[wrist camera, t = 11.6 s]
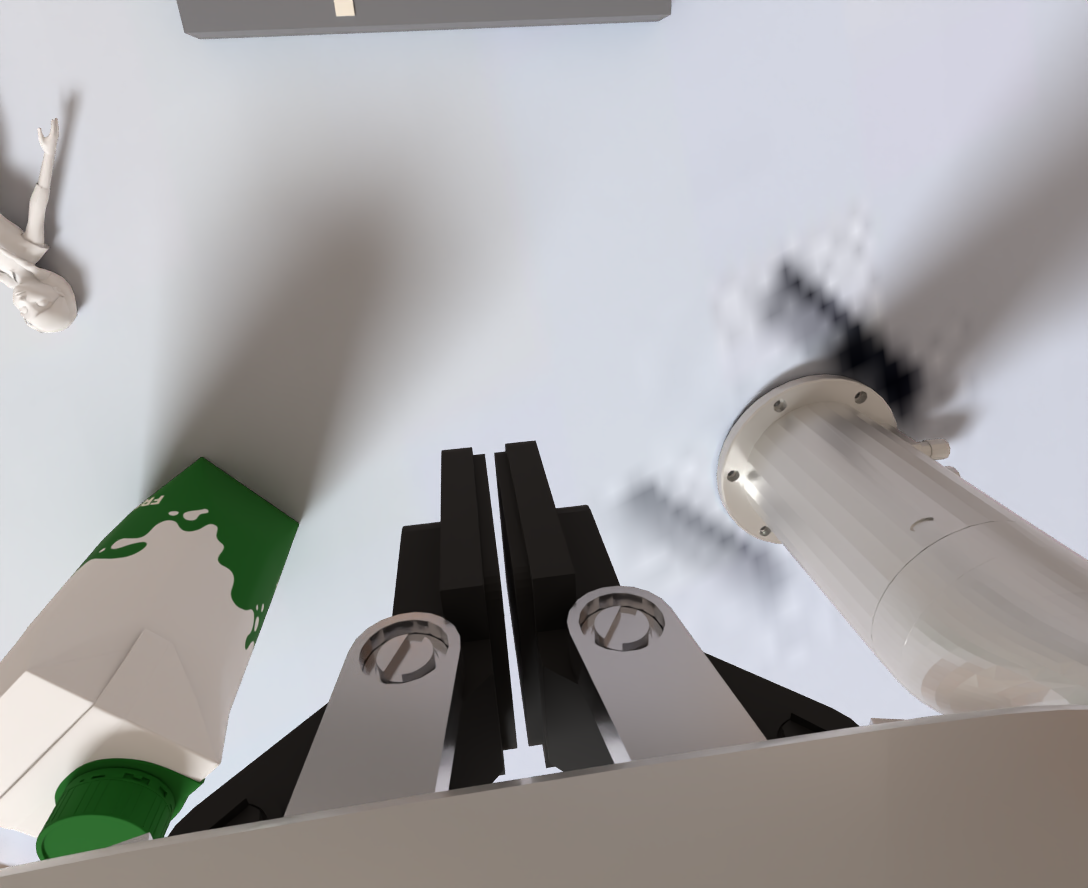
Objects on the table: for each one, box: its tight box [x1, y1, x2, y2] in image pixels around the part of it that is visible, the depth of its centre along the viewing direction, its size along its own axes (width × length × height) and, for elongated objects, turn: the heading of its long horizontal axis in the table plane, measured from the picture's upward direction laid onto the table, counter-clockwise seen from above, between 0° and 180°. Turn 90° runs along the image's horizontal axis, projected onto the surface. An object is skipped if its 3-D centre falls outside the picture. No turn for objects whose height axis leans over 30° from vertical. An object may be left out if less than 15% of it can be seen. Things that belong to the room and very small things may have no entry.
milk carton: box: [0, 457, 299, 860], centre depth 32 cm, size 9×9×20 cm
